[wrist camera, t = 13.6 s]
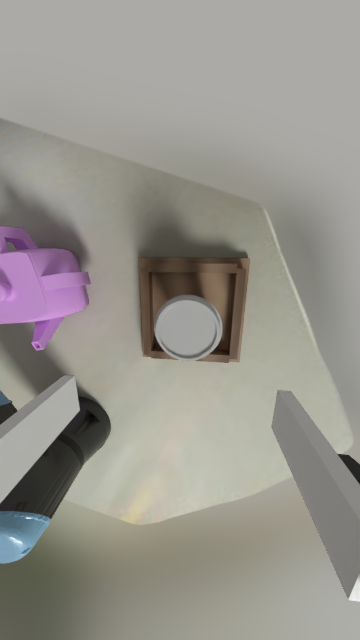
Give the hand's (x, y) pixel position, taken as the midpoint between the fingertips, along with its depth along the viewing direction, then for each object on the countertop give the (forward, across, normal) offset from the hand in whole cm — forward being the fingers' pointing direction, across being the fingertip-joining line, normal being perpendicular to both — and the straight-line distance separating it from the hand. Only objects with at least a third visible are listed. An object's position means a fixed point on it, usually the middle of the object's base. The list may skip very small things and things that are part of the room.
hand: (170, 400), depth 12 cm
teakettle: (+27, -29, +4) cm, 40 cm away
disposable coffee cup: (+26, 0, 0) cm, 26 cm away
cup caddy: (+27, 0, 0) cm, 27 cm away
